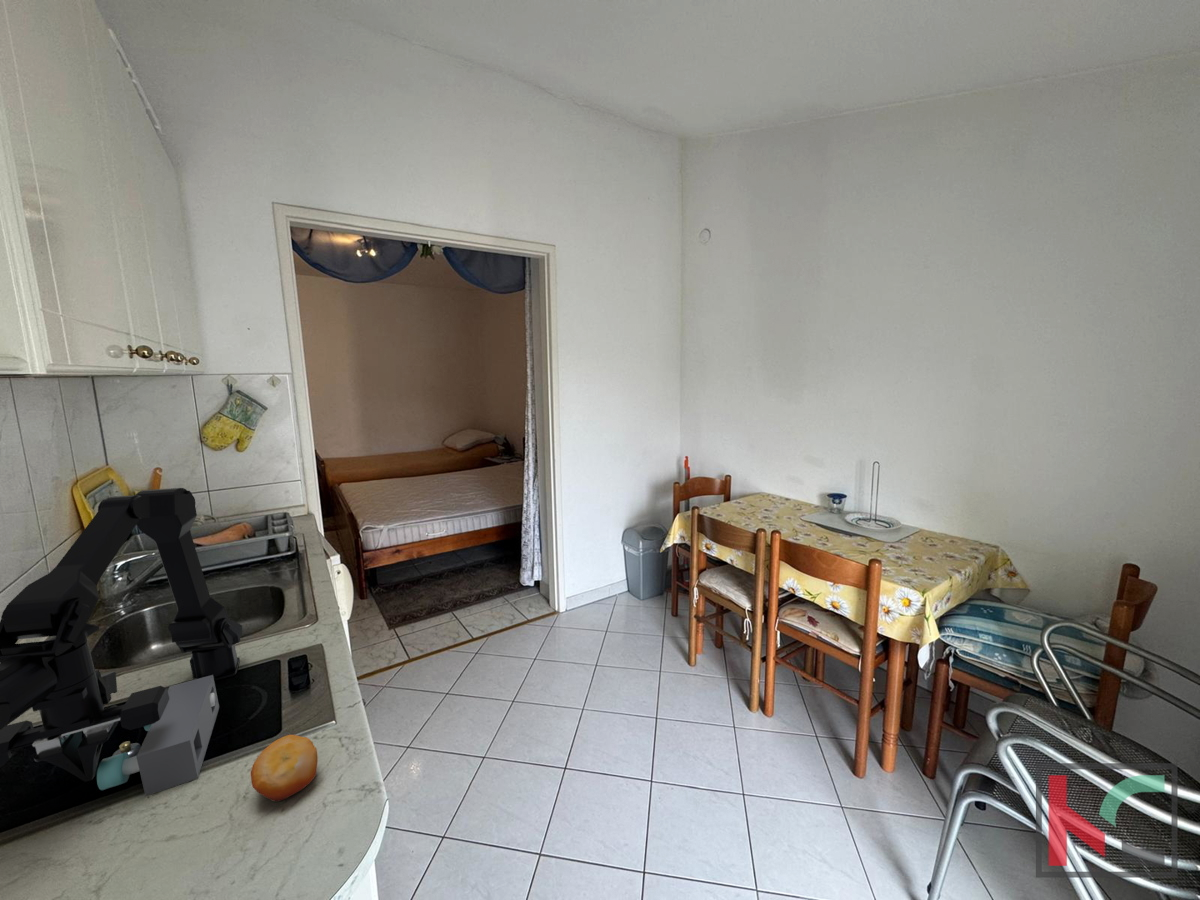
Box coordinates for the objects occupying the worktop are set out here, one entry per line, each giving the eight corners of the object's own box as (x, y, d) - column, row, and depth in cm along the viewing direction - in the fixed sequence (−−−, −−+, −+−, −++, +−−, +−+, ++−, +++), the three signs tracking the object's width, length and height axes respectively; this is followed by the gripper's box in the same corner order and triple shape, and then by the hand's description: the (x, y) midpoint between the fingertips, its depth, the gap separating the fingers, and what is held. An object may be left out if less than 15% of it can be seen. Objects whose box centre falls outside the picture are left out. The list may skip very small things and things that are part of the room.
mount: (219, 707, 90) (213, 674, 89) (197, 778, 74) (189, 740, 73) (176, 719, 87) (169, 686, 86) (145, 796, 72) (136, 756, 70)
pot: (146, 753, 80) (141, 733, 79) (140, 767, 77) (135, 746, 76) (119, 762, 78) (114, 741, 77) (112, 776, 75) (107, 755, 75)
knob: (187, 752, 78) (182, 729, 77) (181, 770, 74) (176, 746, 73) (111, 776, 73) (105, 752, 73) (100, 796, 70) (94, 772, 69)
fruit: (306, 742, 79) (307, 716, 75) (323, 789, 75) (325, 765, 71) (245, 772, 73) (243, 746, 69) (259, 825, 69) (258, 801, 65)
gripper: (169, 632, 79) (187, 719, 82) (0, 670, 71) (27, 765, 73) (147, 669, 70) (168, 766, 72) (-52, 718, 61) (-19, 826, 64)
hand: (90, 778), depth 71 cm, fingers closed
